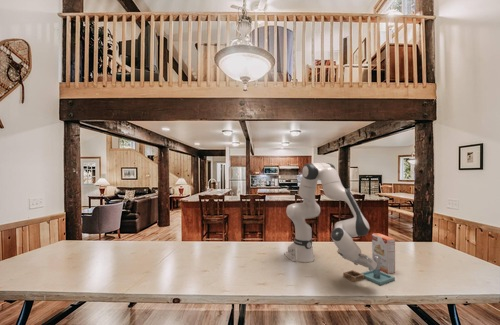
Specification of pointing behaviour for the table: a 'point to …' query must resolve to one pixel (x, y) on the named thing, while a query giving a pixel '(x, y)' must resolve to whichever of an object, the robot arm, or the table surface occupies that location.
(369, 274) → the tray
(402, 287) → the table surface
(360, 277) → the collar
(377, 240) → the cracker box
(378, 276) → the peg
